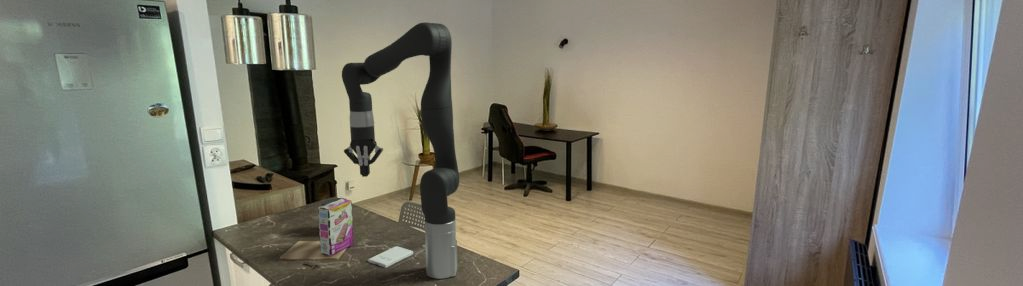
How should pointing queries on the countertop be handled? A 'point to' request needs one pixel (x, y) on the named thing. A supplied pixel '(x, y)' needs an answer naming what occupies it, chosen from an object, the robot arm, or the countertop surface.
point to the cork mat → (308, 252)
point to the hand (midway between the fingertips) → (365, 176)
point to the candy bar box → (335, 227)
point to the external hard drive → (390, 256)
